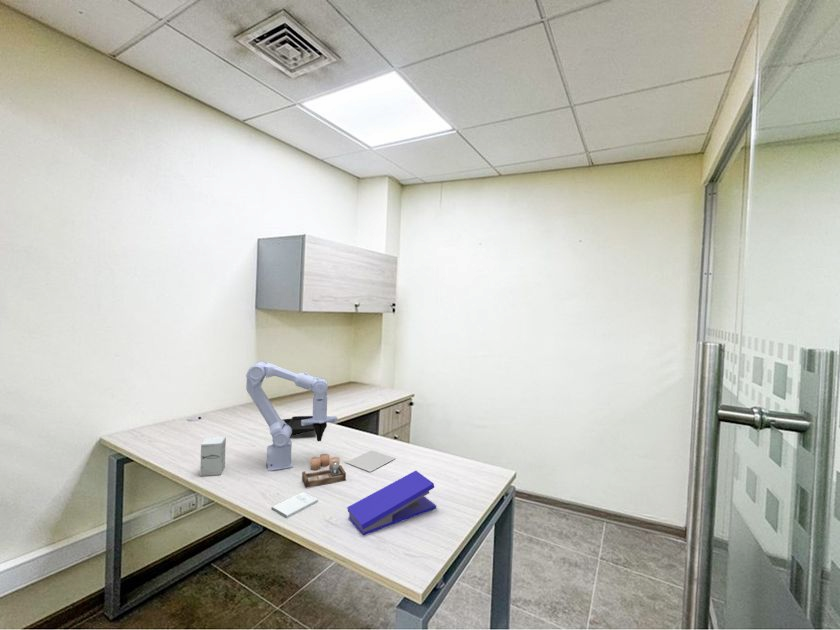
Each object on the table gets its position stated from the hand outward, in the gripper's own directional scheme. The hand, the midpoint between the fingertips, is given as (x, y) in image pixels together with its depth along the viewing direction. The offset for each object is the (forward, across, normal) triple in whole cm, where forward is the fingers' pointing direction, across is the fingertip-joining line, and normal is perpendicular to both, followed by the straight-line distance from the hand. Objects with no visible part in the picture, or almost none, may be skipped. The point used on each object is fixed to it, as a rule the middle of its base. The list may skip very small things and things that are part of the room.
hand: (318, 440), depth 156 cm
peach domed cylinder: (+10, +5, -7) cm, 13 cm away
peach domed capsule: (+10, -2, -4) cm, 11 cm away
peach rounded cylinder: (+10, +2, -2) cm, 10 cm away
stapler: (+10, +15, -46) cm, 49 cm away
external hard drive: (+11, -14, -29) cm, 34 cm away
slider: (+9, +3, -15) cm, 18 cm away
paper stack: (+10, +20, -12) cm, 26 cm away
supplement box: (+10, -39, +8) cm, 41 cm away
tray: (+10, -1, +43) cm, 45 cm away
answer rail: (+10, -1, -15) cm, 18 cm away
